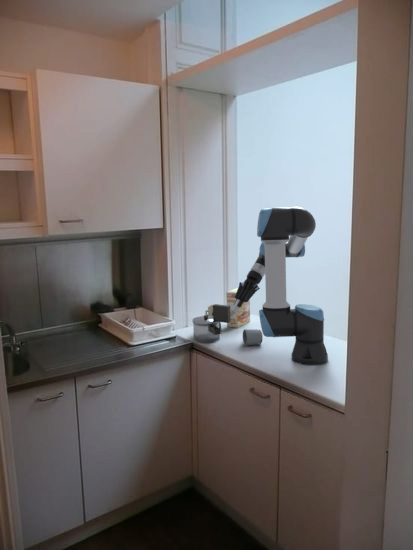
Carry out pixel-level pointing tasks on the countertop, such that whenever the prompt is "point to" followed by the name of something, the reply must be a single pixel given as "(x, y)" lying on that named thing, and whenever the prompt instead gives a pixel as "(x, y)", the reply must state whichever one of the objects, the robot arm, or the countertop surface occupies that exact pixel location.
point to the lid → (215, 316)
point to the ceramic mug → (252, 337)
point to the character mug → (211, 313)
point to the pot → (206, 333)
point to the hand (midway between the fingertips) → (233, 311)
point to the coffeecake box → (242, 313)
